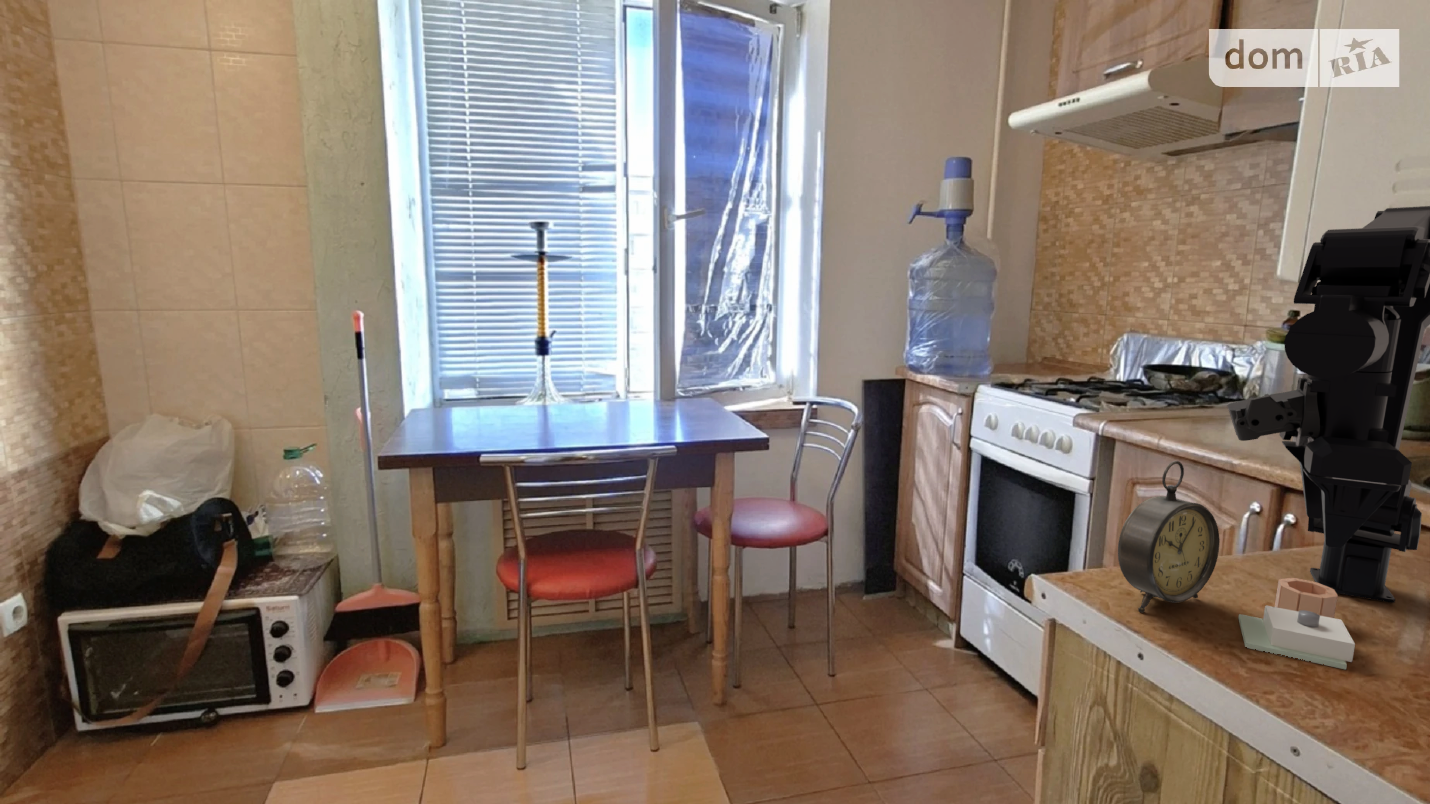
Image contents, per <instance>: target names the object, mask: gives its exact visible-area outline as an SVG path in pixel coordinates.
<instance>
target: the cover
mask: <svg viewBox="0 0 1430 804" xmlns="http://www.w3.org/2000/svg"><path fill="white" fill-rule="evenodd" d="M1262 619H1263V623H1264V626H1265V629H1266V632H1267V635H1268V638H1269V641H1270V644H1271V645H1274V646H1278V647H1283V648H1288V649H1292V650H1297V651H1302V652H1307V653H1311V654H1316V655H1321V656H1325V657H1330V658H1335V659H1340V660H1344V661H1345V662H1350V663H1352V662H1353V659H1354V653H1355V648H1356V647H1355V645H1356V643H1355V641H1354V640H1353V638H1352V636H1351V635H1350V633H1349V630H1348V629H1347V627H1346V626H1345V623H1344V622H1343V620H1342V619H1339V618H1335V617H1334V618H1330V617H1325V616H1319V615H1318V614H1316V613H1314V612H1311V611H1305V610H1300V611H1299V612H1298V611H1293V610H1288V609H1282V608H1277V607H1275V606H1271V605H1265V606H1264V611H1263V618H1262Z"/></svg>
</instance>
